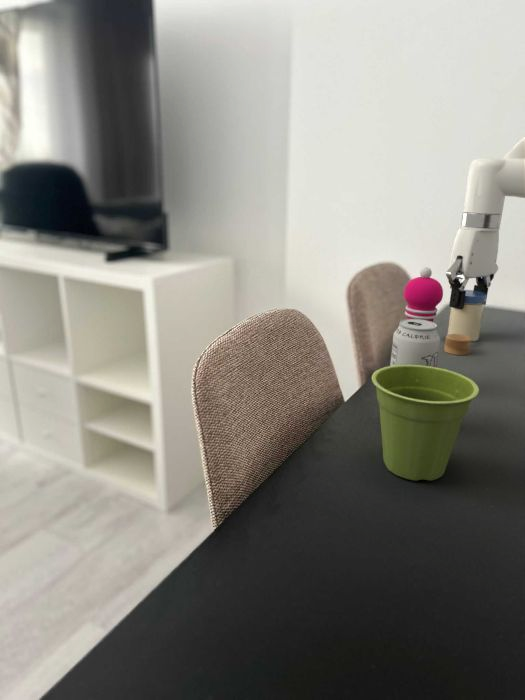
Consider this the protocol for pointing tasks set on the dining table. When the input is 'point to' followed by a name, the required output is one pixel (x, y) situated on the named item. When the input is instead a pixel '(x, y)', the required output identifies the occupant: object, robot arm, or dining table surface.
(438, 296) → the pepper mill
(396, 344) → the energy drink can
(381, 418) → the plant pot
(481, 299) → the jar lid
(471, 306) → the jar
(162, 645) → the dining table surface
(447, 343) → the stand
